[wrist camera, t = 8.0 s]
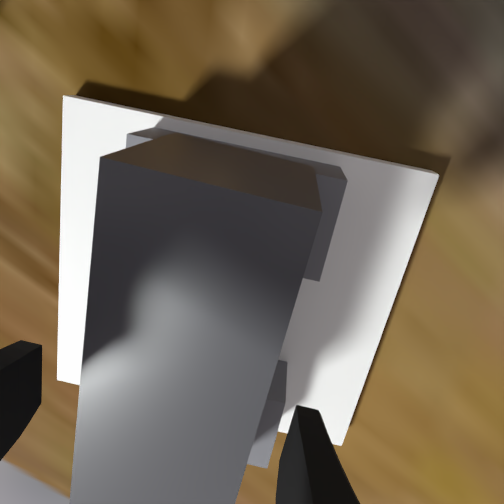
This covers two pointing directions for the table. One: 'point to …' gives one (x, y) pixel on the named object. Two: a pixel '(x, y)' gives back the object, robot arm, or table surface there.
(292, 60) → the table surface
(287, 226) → the glasses case
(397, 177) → the stand
